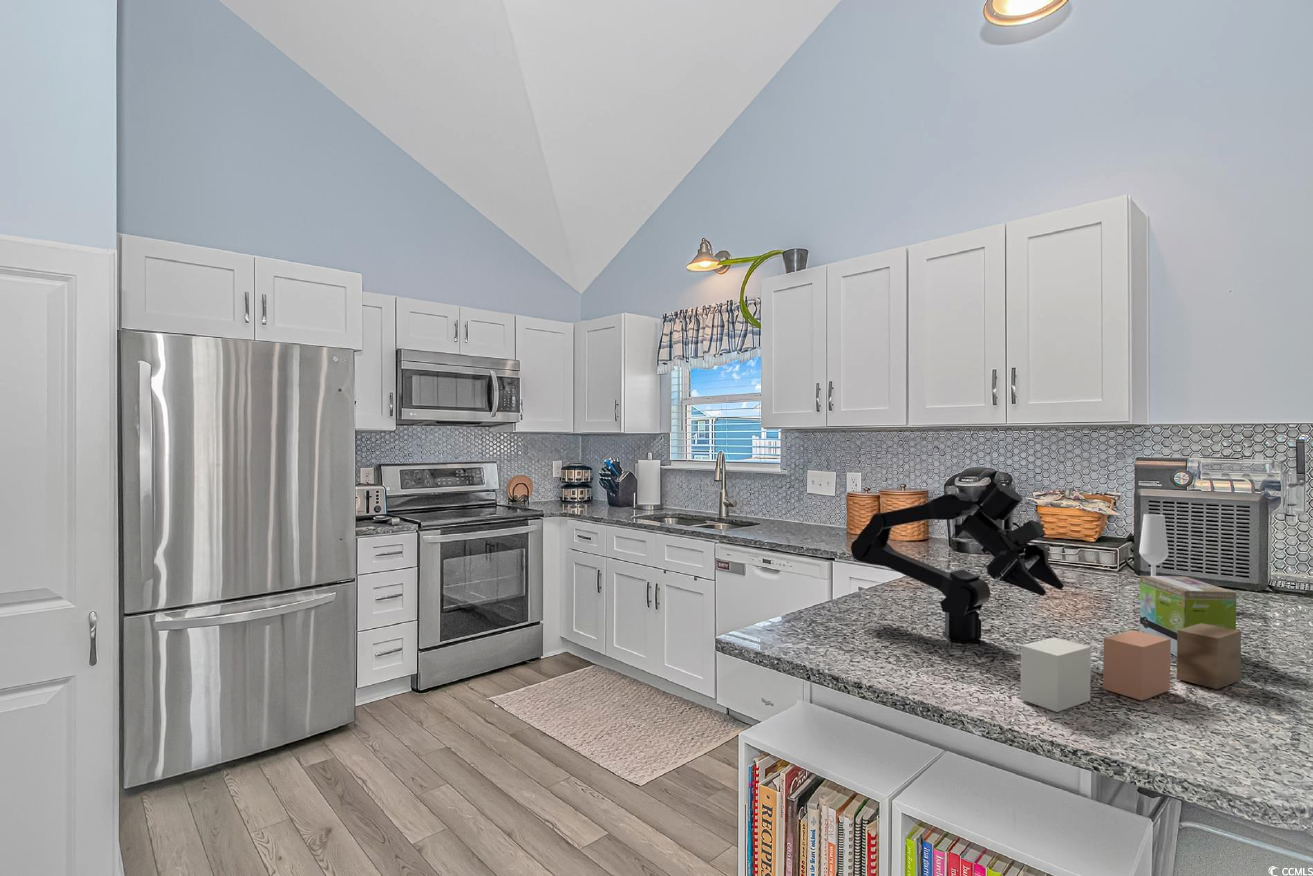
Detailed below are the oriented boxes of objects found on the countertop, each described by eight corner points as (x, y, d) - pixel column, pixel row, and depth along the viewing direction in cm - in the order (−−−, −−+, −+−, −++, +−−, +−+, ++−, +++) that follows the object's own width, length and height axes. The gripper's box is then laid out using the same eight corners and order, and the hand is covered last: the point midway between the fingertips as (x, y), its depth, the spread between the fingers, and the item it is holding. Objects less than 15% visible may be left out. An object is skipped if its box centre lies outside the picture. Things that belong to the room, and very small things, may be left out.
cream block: (1020, 699, 110) (1020, 645, 110) (1053, 688, 115) (1054, 637, 115) (1057, 712, 105) (1057, 655, 105) (1090, 700, 110) (1090, 646, 110)
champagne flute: (1164, 597, 189) (1165, 514, 189) (1171, 602, 183) (1172, 516, 183) (1135, 595, 192) (1136, 513, 192) (1142, 600, 185) (1142, 515, 186)
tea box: (1137, 639, 147) (1138, 573, 147) (1185, 642, 146) (1186, 575, 146) (1184, 662, 132) (1185, 588, 132) (1238, 664, 131) (1239, 590, 131)
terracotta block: (1103, 688, 115) (1103, 637, 116) (1131, 679, 120) (1132, 630, 121) (1142, 700, 110) (1142, 647, 110) (1170, 690, 115) (1170, 639, 115)
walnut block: (1176, 678, 121) (1177, 629, 121) (1200, 669, 126) (1201, 623, 126) (1217, 689, 116) (1217, 638, 116) (1240, 679, 121) (1241, 631, 121)
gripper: (995, 511, 131) (1063, 568, 121) (1032, 506, 143) (1098, 557, 133) (961, 550, 136) (1024, 608, 126) (1000, 542, 148) (1060, 595, 138)
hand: (1053, 591), depth 131 cm, fingers open, 9 cm apart
